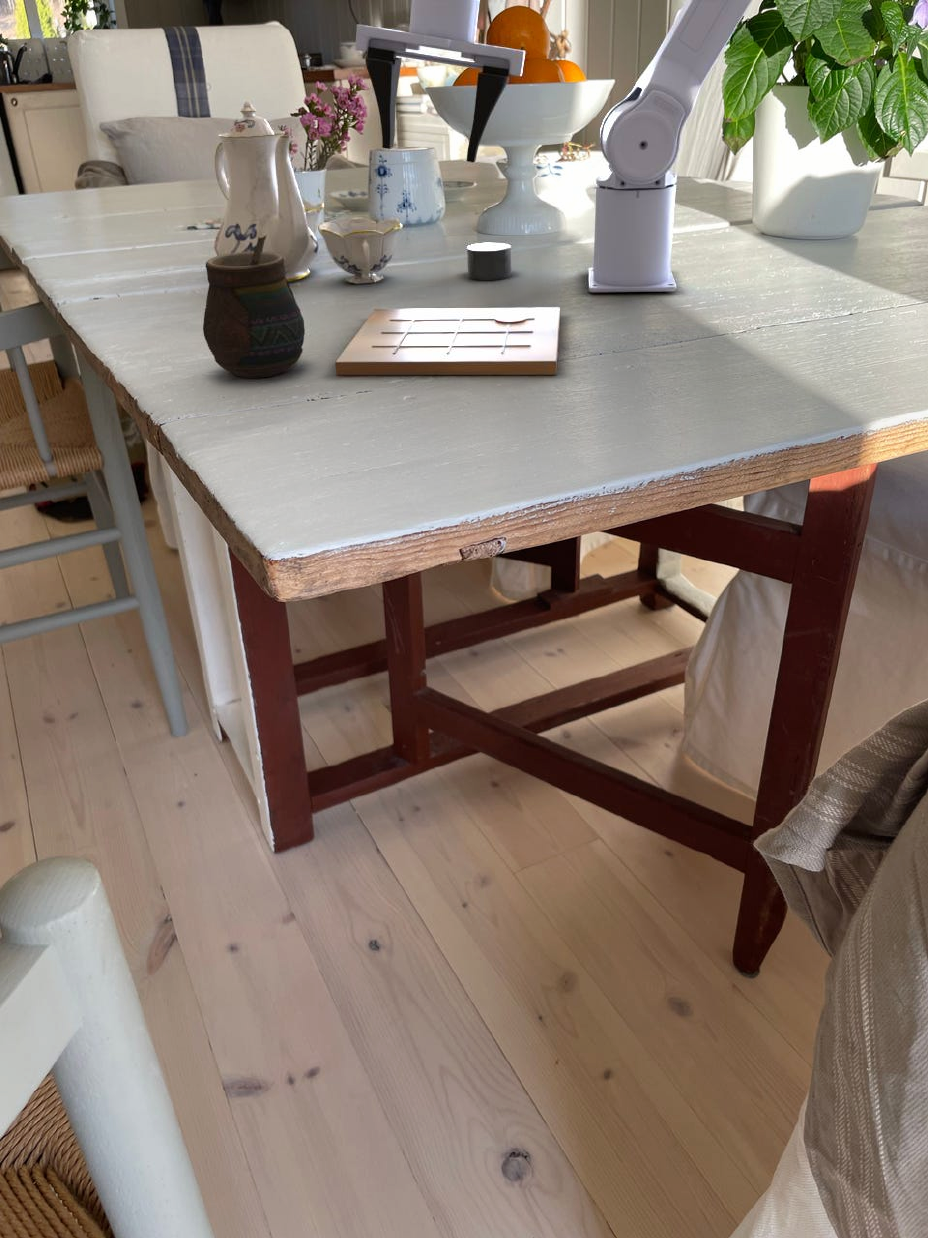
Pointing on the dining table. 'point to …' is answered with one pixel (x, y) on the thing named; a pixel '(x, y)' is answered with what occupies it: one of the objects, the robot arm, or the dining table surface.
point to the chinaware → (288, 208)
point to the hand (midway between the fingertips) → (429, 154)
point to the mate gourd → (252, 314)
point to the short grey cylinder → (489, 261)
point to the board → (455, 342)
